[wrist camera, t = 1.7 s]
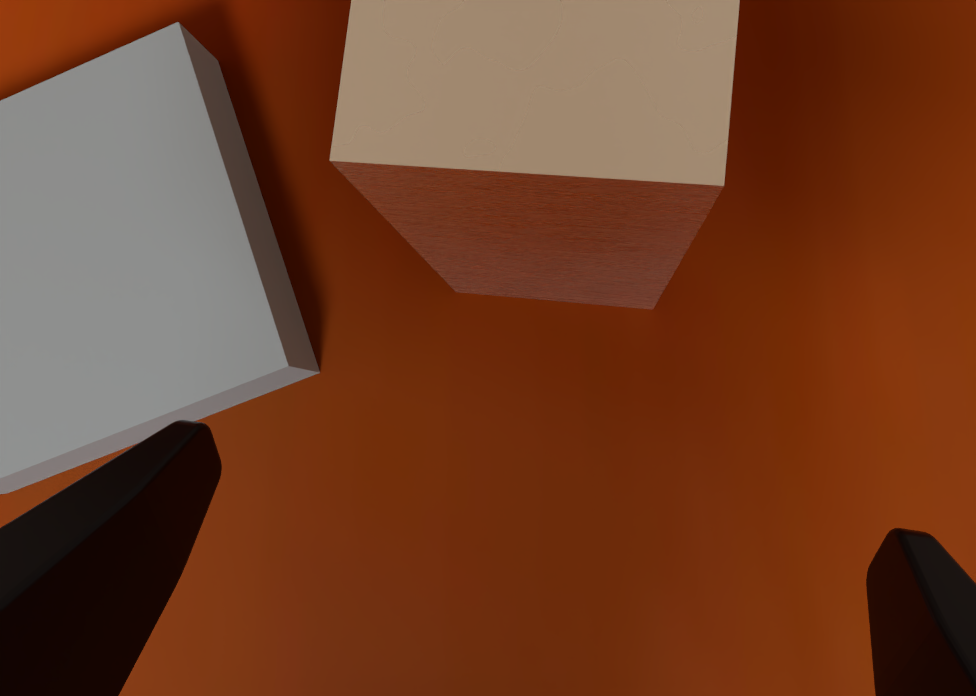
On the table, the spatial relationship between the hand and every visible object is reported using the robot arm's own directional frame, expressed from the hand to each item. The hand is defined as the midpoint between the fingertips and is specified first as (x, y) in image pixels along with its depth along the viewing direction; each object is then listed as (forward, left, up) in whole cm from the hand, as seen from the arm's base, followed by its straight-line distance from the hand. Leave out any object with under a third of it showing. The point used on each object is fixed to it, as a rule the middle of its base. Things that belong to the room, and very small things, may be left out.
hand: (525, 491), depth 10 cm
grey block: (-4, +16, -14) cm, 22 cm away
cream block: (+7, +4, -13) cm, 16 cm away
